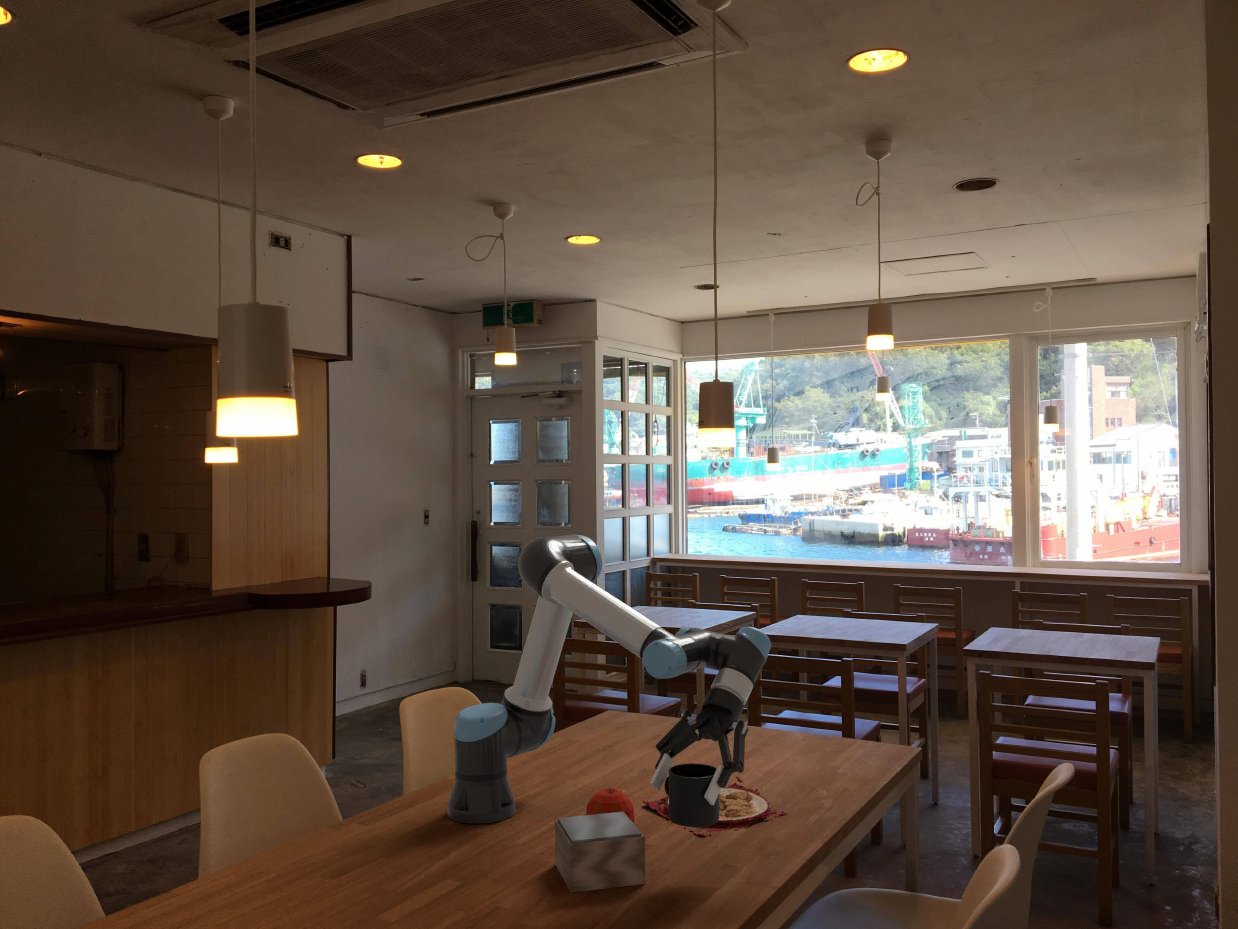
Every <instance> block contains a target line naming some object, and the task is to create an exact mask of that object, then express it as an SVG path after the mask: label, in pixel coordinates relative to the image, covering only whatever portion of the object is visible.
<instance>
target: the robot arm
mask: <svg viewBox="0 0 1238 929" xmlns="http://www.w3.org/2000/svg"><path fill="white" fill-rule="evenodd" d="M517 563H518V564H517V567H518V568H517V569H518V573H519V575H520V578H521V580H522V581H523V583H524V584H525V585H526V586H527V587H528V589H530V591H532V592H534V593H535V594H536V595H538V598H537V603H536V604H535V609H534V612H533V615H532V620H531V623H530V626H529V630H528V633H527V636H526V640H525V643H524V648H523V651H522V654H521V658H520V662H519V664H518V669H517V672H516V674H515V679H514V682H513V685H512V686H510V687H508V688H506V689H505V691H504V693H503V696H502V701H501V703H497V702H485V703H484V702H483V703H481V704H474V705H470V706H467V707H465V708H463V709H461V710H460V711H459V712H458V713H457V714H456V715H455V719H454V720H455V721H454V729H453V736H454V773H455V774H454V776H455V777H454V783H453V786H452V790H451V792H450V796H449V799H448V802H447V817H448V818H449V819H450V820H451V821H453V822H458V823H463V824H474V825H476V824H489V823H495V822H500V821H504V820H507V819H509V818H510V817H511V818H512V816H514V815H515V814H516V799H515V797H514V794H513V790H512V787H511V784H510V781H509V778H508V759H510V758H513V757H516V756H519V755H521V754H522V755H523V754H525V753H528V752H529V753H530V752H532V751H535V750H537V749H539V748H540V747H542V746H543V745H545V744H546V743H547V742H549V740H551V737H552V736H553V734H554V731H555V727H556V716H554V709H553V701H552V698H550V696H549V695H550V691H551V687H552V684H553V680H554V677H555V674H556V671H557V667H558V664H559V660H560V657H561V653H562V650H563V648H564V647H563V646H564V643H565V640H566V637H567V633H568V631H569V626H570V624H571V620H572V616H573V615H574V614H575V615H576V616H577V617H578V618H580V619H582V620H584V621H585V622H586V623H588V624H589V625H590V626H592V627H594V629H597V630H598V631H600V632H601V633H603V634H604V635H605V636H607V637H608V638H610V639H611V640H613V641H615V642H616V643H617V644H619V646H620V645H621V647H623V648H625V649H627V650H628V652H631V653H632V654H634V655H635V656H637V657H638V658H639V659H642V664H643V666H644V668H645V670H646V673H647V674H649V675H650V676H651V677H653V678H655V679H657V680H662V679H663V680H664V679H672V678H676V677H679V676H680V675H684V674H686V673H689V672H692V671H695V670H698V669H699V670H700V669H702V668H705V669H710V670H715V671H718V672H717V674H716V675H715V678H713V682H712V684H711V685H710V689H709V691H708V692H707V694H706V696H705V698H704V700H703V702H702V707H701V710H700V712H699V713H697V714H694V713H692V712H691V711H690V710H689V709H688V710H685V712H684V713H683V715H682V717H681V718H680V720H679V721H678V722H677V723H676V724H675V725H674V726H673V727H672V728H671V729H670V730H669V731H668V732H667V733H666V734H665V735H664V736H663V737H662V738H661V739H660V740H659V741H658V742H657V743H656V744H655V749H656V750H657V751H658V752H659V754H660V755H659V758H658V759H657V762H656V763H655V766H654V769H655V772H654V773H653V775H652V778H651V779H650V782H649V784H650V785H651V786H652V788H654V790H655V791H657V792H660V791H661V789H662V787H663V785H664V783H665V780H666V778H667V777H668V775H669V769H670V768H671V767H673V764H674V760H673V759H674V758H675V757H676V756H678V755H679V754H680V753H682V752H683V751H684V750H686V749H687V748H689V747H690V746H692V744H694V743H696V742H700V741H701V740H711V741H713V742H717V743H718V748H719V752H720V757H721V761H722V763H721V764H722V765H717V767H716V768H717V770H716V772H715V774H714V776H713V778H712V781H711V783H710V785H709V787H708V789H707V791H706V794H705V796H704V797H705V798H706V800H707V801H708V802H709V804H710V805H714V803H715V801H716V799H717V797H718V795H719V792H720V790H721V788H725V787H727V784H728V782H729V780H730V779H731V776H732V774H734V773H739V774H741V773H742V774H743V773H744V771H745V751H746V750H745V748H746V736H747V734H748V731H749V727H748V726H747V725H746V723H745V722H744V721H743V720H741V719H740V716H741V715H742V712H743V711H744V708H745V707H744V706H745V705H746V703H747V701H748V699H749V697H750V694H751V693H752V690H753V688H754V686H755V684H756V681H757V679H758V677H759V675H760V673H761V672H762V669H763V667H764V666H765V664H766V663H767V659H768V656H769V655H770V654H769V653H770V652H771V648H772V642H771V641H770V637H768V635H767V634H766V633H765V632H764V631H762V630H760V629H758V628H756V627H752V626H744V627H741V628H739V630H738V631H737V632H736V634H735V635H730V634H725V633H720V632H715V631H712V630H711V631H710V630H707V629H703V628H700V627H697V626H695V627H692V626H683V627H681V628H679V630H678V631H676V633H675V635H674V634H672V633H671V632H669V631H668V630H666V629H664V628H663V627H662V626H660V625H658V624H657V623H655V622H653V621H652V620H651V619H649V618H648V617H646V616H644V614H642V613H640V612H638V611H637V610H636V609H634V608H633V607H631V606H629V605H628V604H626V603H625V602H623V601H622V600H620V599H619V598H618V597H615V596H614V595H613V594H611V593H609V592H607V591H606V590H605V589H604V588H601V587H600V586H599V585H597V584H595V583H594V582H596V581H597V580H598V578H599V576H600V575H601V573H602V569H603V556H602V554H601V551H600V550H599V547H598V545H597V544H596V543H595V541H594V540H593V539H591V538H590V537H588V536H586V535H583V534H582V535H581V534H574V533H570V534H565V535H556V536H553V535H552V536H540V537H537V538H534V539H532V540H531V541H530V542H528V543H527V544H526V545H525V546H524V547H523V548H522V550H521V551H520V554H519V557H518V561H517ZM739 719H740V720H739ZM697 732H698V733H697ZM731 732H733V747H732V748H733V749H732V752H733V753H732V754H731V750H730V745H729V744H730V742H729V738H728V734H730V733H731Z"/></svg>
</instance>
